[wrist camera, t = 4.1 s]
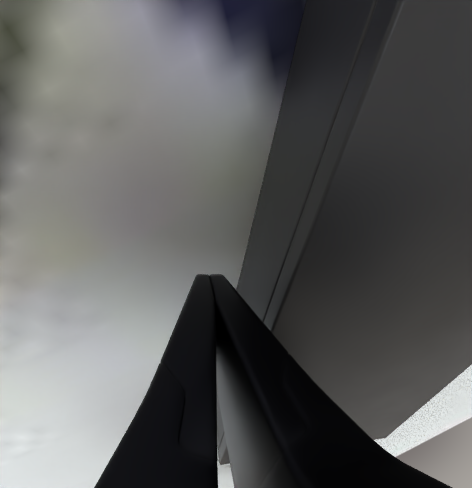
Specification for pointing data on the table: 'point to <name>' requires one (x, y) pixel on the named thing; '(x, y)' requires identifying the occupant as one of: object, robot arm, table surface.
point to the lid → (370, 207)
